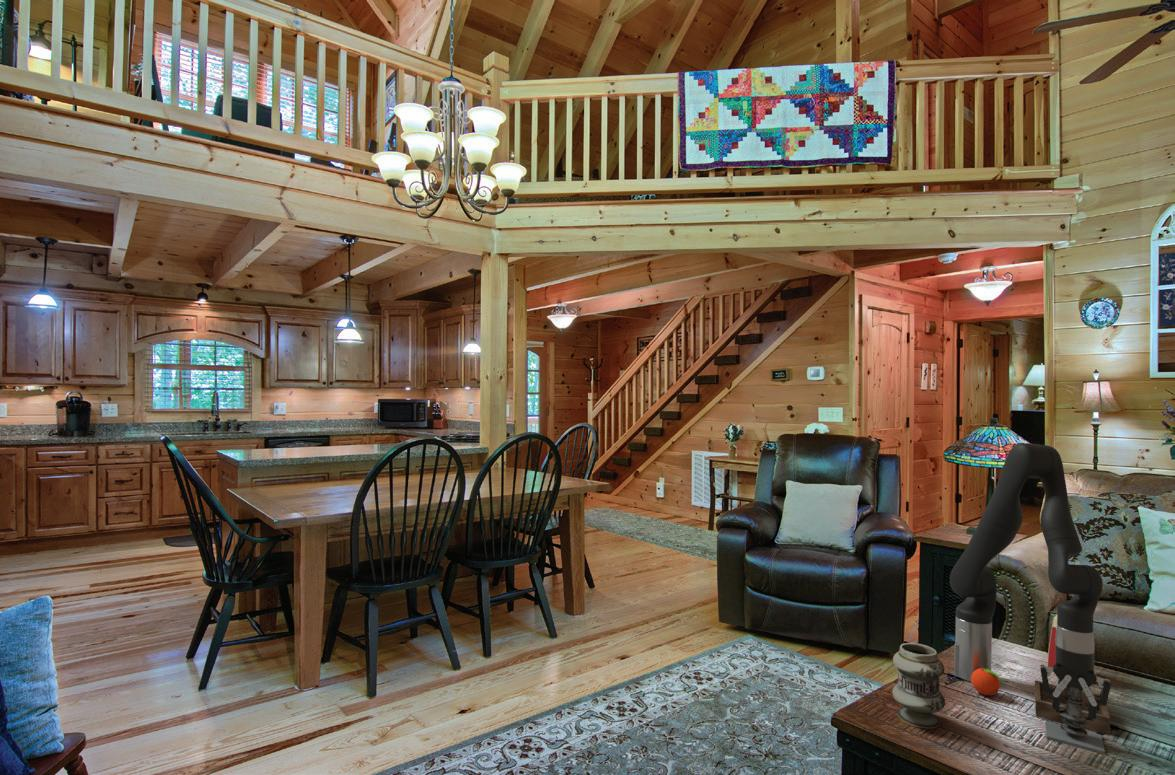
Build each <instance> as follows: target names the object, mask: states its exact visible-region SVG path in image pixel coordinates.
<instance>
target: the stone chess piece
mask: <svg viewBox="0 0 1175 775" xmlns="http://www.w3.org/2000/svg"><path fill="white" fill-rule="evenodd" d="M1065 699H1066V703H1065V705H1066V708H1065V709H1061V710H1059V713H1060V716H1061V719H1062V720H1063V722H1064V723H1062V724H1060V727H1061V729H1063V730H1064V731H1066V732H1068V733H1071V734H1074V735H1079V736H1085V735H1087V732H1088V731H1087V729H1085V728H1083V727H1085V726H1086V725H1087V722H1088V721H1089V718H1088V717H1087V716H1086V715H1084V714H1083V713H1082V709H1083V707H1082V703H1083V701H1082V700H1081V691H1080V690H1079V689H1078V688H1075V687H1070V688H1067V696H1065Z"/></svg>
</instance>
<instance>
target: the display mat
mask: <svg viewBox="0 0 1175 775" xmlns="http://www.w3.org/2000/svg"><path fill="white" fill-rule="evenodd" d="M1060 725H1061V724H1059V723H1054V722H1052V721H1046V720H1045V732H1046V733H1045V734H1046V739H1047V740H1052V741H1054V742H1057V743H1058V742H1059V743H1062V744H1067V745H1070V746H1072V747H1073V746H1074V747H1077V748H1081V749H1084V750H1085V749H1086V750H1088V751H1092V752H1096V753H1099V754H1103V755H1105V754H1106V751H1105V750H1106V749H1105V747H1104V742H1103V738H1102V735H1101V734H1100V733H1094V732H1090V731H1087V735H1085V736H1079V735H1074V734H1071V733H1068V732H1066V731H1064V730H1063V729H1061V727H1060Z"/></svg>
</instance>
